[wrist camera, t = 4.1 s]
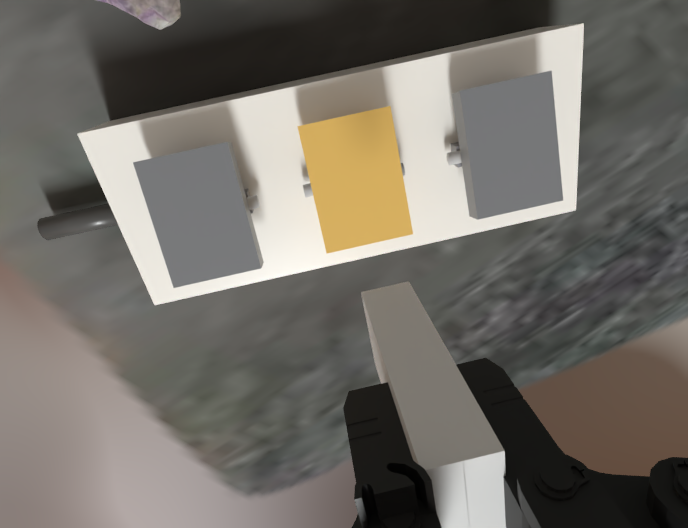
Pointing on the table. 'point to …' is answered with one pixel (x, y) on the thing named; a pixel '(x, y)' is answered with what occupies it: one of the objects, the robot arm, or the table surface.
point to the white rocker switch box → (289, 162)
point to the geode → (150, 10)
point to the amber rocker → (356, 179)
